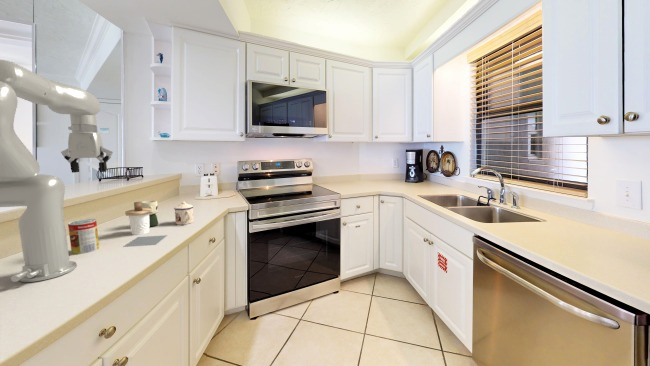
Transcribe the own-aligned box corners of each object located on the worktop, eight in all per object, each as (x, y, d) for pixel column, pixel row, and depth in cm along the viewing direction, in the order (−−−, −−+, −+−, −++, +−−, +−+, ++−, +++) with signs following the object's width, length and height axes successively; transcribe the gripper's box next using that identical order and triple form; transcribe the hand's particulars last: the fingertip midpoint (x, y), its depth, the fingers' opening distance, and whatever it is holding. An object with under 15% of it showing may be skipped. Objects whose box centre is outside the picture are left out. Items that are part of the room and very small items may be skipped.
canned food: (91, 246, 103) (88, 218, 102) (104, 249, 101) (101, 220, 99) (67, 253, 96) (63, 223, 95) (79, 256, 93) (75, 225, 92)
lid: (145, 215, 115) (144, 204, 114) (120, 216, 113) (119, 204, 112) (155, 210, 124) (154, 199, 124) (132, 211, 122) (131, 200, 122)
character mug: (161, 226, 131) (159, 202, 129) (144, 229, 126) (142, 204, 124) (157, 222, 139) (155, 199, 137) (141, 225, 134) (139, 201, 132)
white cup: (154, 231, 123) (153, 211, 122) (141, 236, 116) (139, 215, 114) (140, 230, 124) (138, 211, 123) (126, 236, 116) (123, 215, 115)
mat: (155, 246, 104) (155, 244, 104) (122, 248, 102) (122, 246, 102) (167, 236, 116) (167, 235, 116) (138, 238, 113) (137, 237, 113)
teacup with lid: (172, 222, 138) (171, 201, 137) (190, 219, 145) (189, 199, 143) (180, 227, 130) (178, 205, 129) (198, 223, 137) (197, 202, 135)
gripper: (51, 128, 97) (57, 173, 99) (103, 129, 100) (107, 172, 102) (66, 130, 104) (71, 171, 106) (115, 131, 107) (118, 171, 109)
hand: (89, 172), depth 104 cm, fingers open, 9 cm apart
